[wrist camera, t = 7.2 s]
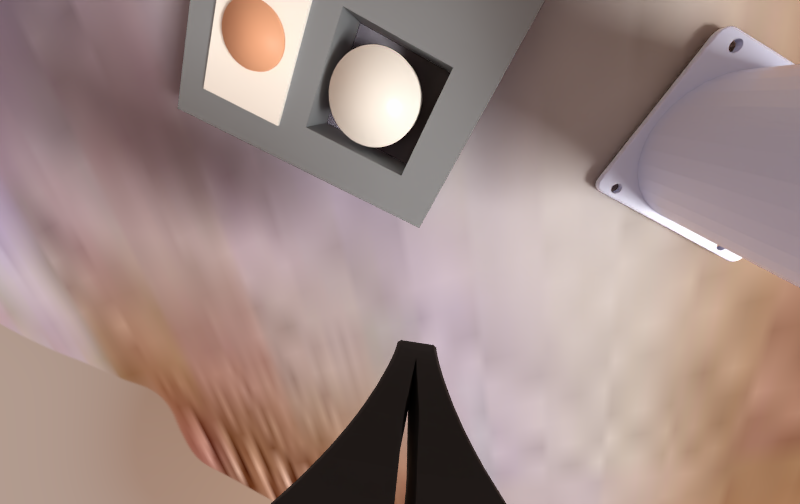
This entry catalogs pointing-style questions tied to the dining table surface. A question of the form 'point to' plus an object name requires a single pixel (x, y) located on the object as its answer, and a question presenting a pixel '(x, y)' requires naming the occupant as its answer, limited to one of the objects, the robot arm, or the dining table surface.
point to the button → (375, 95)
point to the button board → (311, 73)
